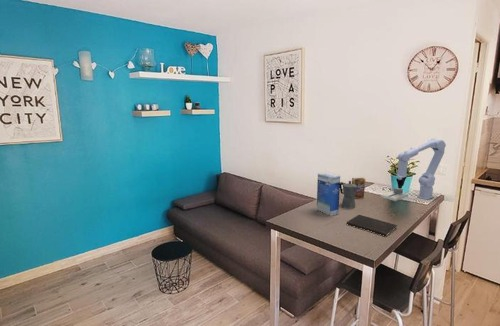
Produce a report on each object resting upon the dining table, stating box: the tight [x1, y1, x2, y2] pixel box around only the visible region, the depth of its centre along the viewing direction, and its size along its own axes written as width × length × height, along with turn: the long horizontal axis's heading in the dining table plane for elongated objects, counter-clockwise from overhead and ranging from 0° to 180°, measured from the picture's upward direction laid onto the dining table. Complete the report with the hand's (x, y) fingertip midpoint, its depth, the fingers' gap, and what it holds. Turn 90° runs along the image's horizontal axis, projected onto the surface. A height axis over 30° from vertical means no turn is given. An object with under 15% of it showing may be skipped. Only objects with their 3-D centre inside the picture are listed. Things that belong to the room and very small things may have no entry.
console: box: [380, 190, 408, 202], centre depth 218 cm, size 17×11×2 cm, turn 125°
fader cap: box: [392, 187, 404, 194], centre depth 220 cm, size 4×5×4 cm
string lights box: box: [316, 171, 341, 217], centre depth 188 cm, size 13×8×26 cm, turn 32°
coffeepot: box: [340, 180, 358, 209], centre depth 201 cm, size 15×9×18 cm, turn 33°
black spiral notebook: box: [346, 214, 399, 237], centre depth 168 cm, size 16×23×2 cm
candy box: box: [351, 177, 366, 199], centre depth 217 cm, size 9×4×15 cm, turn 98°
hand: (400, 186), depth 214 cm, fingers open, 7 cm apart
